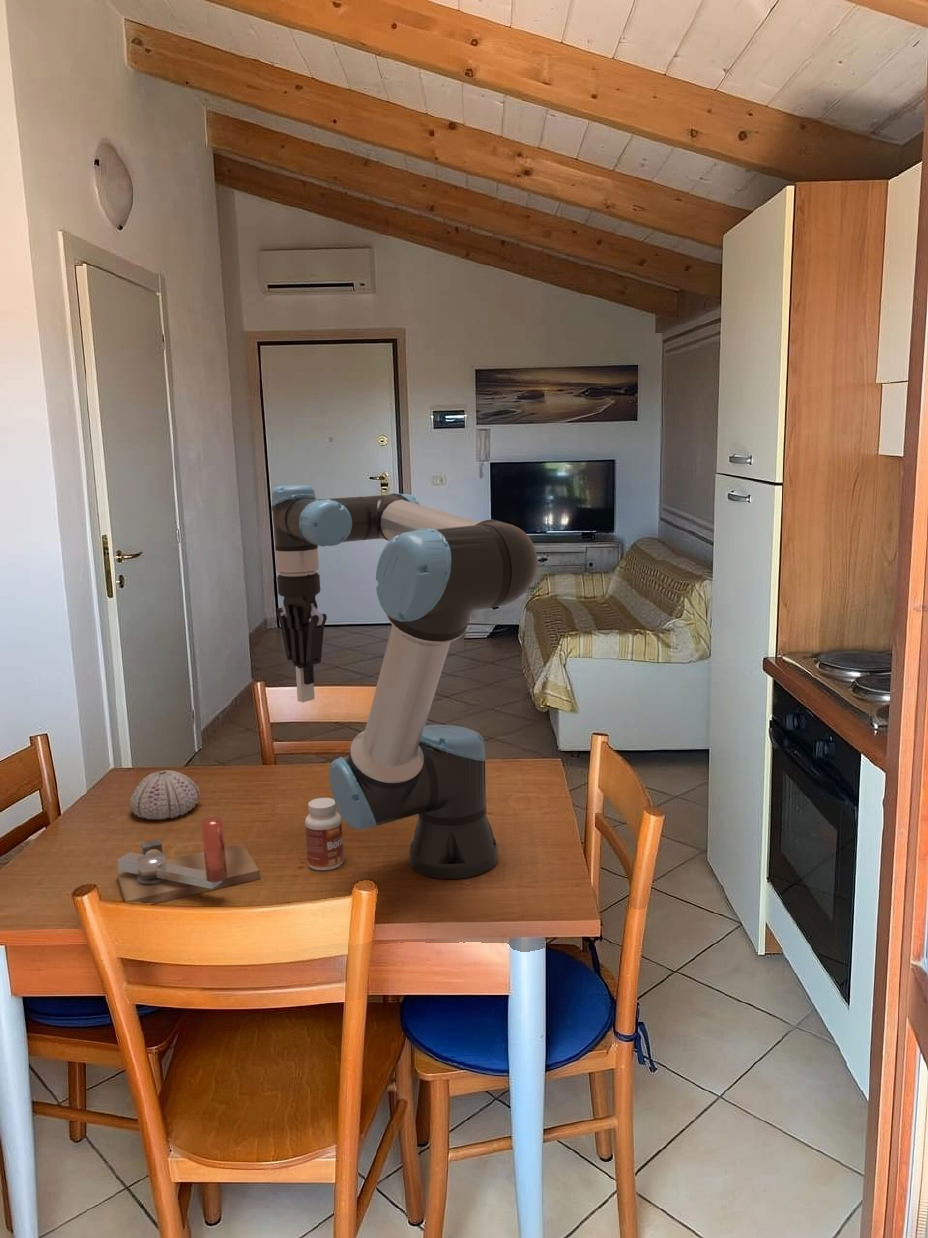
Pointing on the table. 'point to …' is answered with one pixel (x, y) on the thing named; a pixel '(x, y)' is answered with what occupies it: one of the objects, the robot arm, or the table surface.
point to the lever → (158, 868)
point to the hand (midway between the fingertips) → (306, 700)
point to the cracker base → (164, 890)
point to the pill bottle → (324, 835)
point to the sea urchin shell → (164, 795)
